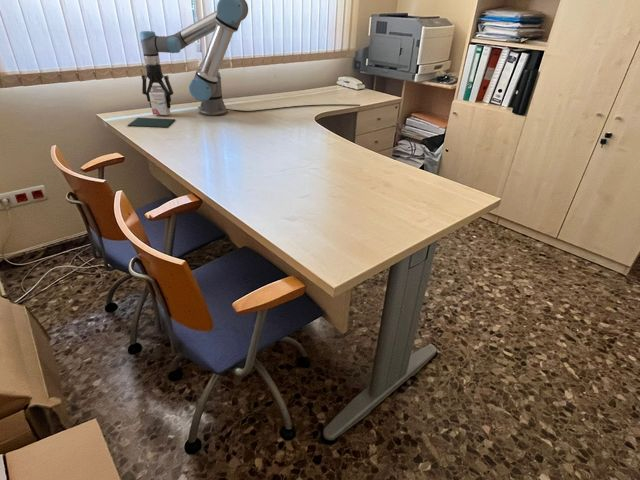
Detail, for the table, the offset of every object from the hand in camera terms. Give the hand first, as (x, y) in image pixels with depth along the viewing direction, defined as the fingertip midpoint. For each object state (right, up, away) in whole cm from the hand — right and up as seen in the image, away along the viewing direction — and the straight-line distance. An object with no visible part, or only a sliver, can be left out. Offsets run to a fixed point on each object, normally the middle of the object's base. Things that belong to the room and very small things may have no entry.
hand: (160, 107), depth 221 cm
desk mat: (0, -12, -10) cm, 16 cm away
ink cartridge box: (0, -3, +2) cm, 4 cm away
